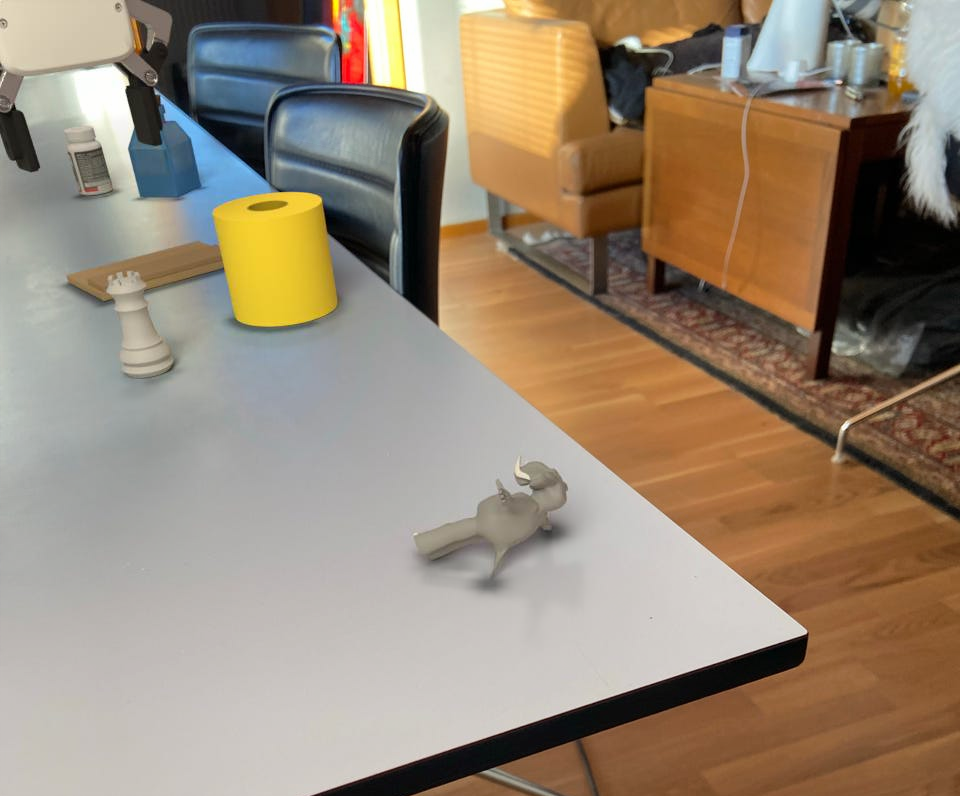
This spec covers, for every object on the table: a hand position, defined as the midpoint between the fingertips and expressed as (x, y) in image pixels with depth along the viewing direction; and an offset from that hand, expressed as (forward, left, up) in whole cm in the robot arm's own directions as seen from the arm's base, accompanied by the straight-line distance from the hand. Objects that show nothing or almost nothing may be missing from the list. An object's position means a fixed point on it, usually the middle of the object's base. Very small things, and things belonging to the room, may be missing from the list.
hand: (91, 156), depth 77 cm
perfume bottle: (+32, +64, -17) cm, 74 cm away
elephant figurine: (+1, -45, -17) cm, 48 cm away
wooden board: (+13, +28, -17) cm, 35 cm away
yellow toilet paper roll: (+17, +5, -17) cm, 25 cm away
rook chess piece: (0, +1, -17) cm, 17 cm away
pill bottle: (+25, +74, -17) cm, 80 cm away
